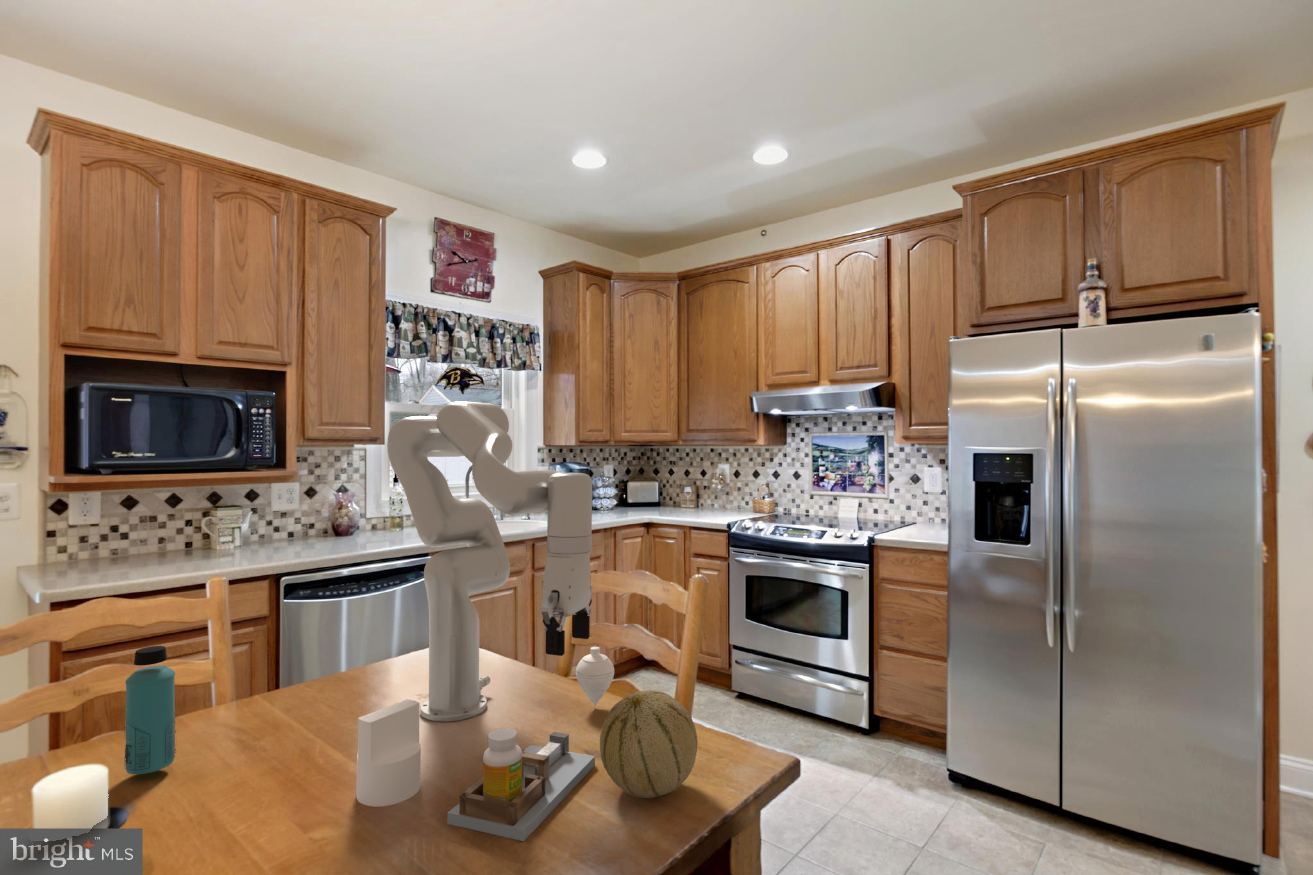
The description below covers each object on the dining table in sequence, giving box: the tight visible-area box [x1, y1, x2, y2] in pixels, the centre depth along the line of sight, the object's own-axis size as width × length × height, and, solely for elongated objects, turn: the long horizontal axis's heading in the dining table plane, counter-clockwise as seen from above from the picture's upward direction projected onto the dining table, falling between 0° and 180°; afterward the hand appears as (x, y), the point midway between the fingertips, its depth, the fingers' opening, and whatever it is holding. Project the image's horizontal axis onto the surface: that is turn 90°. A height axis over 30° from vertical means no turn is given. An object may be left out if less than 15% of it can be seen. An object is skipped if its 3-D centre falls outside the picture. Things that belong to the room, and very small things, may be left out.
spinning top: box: [575, 646, 615, 709], centre depth 130 cm, size 8×8×12 cm
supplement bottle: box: [482, 727, 523, 802], centre depth 92 cm, size 5×5×10 cm
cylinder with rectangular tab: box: [355, 699, 422, 808], centre depth 99 cm, size 9×9×12 cm
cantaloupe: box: [599, 689, 699, 799], centre depth 99 cm, size 15×15×15 cm
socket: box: [458, 774, 545, 826], centre depth 92 cm, size 8×8×2 cm
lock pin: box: [523, 731, 570, 778], centre depth 104 cm, size 10×3×3 cm, turn 160°
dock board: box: [446, 744, 596, 842], centre depth 98 cm, size 22×12×5 cm, turn 160°
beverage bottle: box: [123, 645, 177, 775], centre depth 104 cm, size 6×7×20 cm
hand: (568, 645), depth 111 cm, fingers open, 9 cm apart
